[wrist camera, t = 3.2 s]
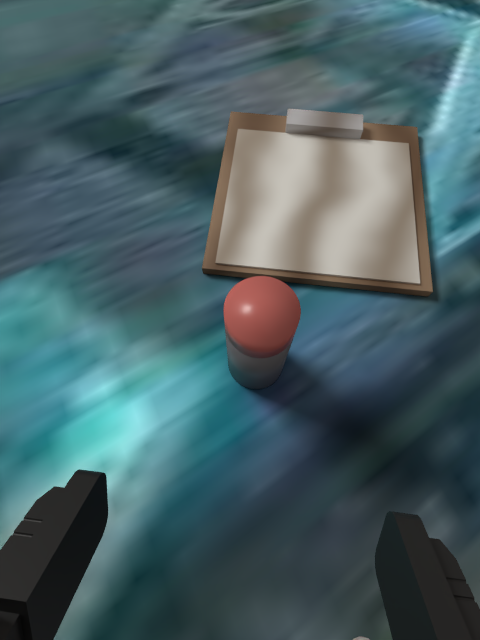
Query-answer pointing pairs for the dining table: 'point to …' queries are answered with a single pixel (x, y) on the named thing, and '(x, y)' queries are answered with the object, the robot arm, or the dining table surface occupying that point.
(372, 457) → the dining table surface
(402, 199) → the clipboard
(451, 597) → the robot arm
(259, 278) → the grey and red cylinder
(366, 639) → the mobile phone
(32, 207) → the dining table surface
